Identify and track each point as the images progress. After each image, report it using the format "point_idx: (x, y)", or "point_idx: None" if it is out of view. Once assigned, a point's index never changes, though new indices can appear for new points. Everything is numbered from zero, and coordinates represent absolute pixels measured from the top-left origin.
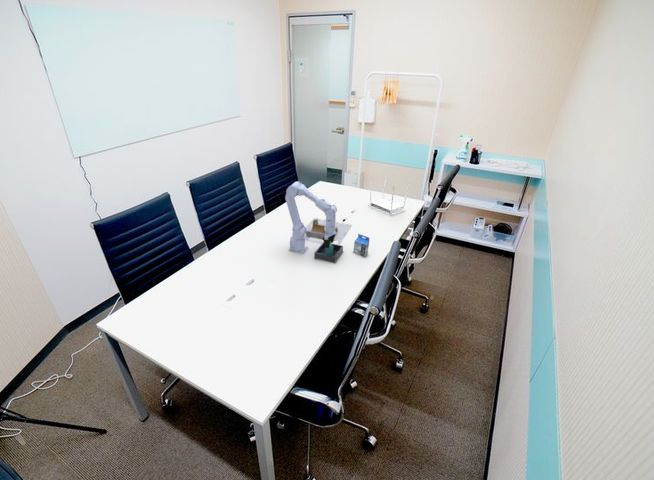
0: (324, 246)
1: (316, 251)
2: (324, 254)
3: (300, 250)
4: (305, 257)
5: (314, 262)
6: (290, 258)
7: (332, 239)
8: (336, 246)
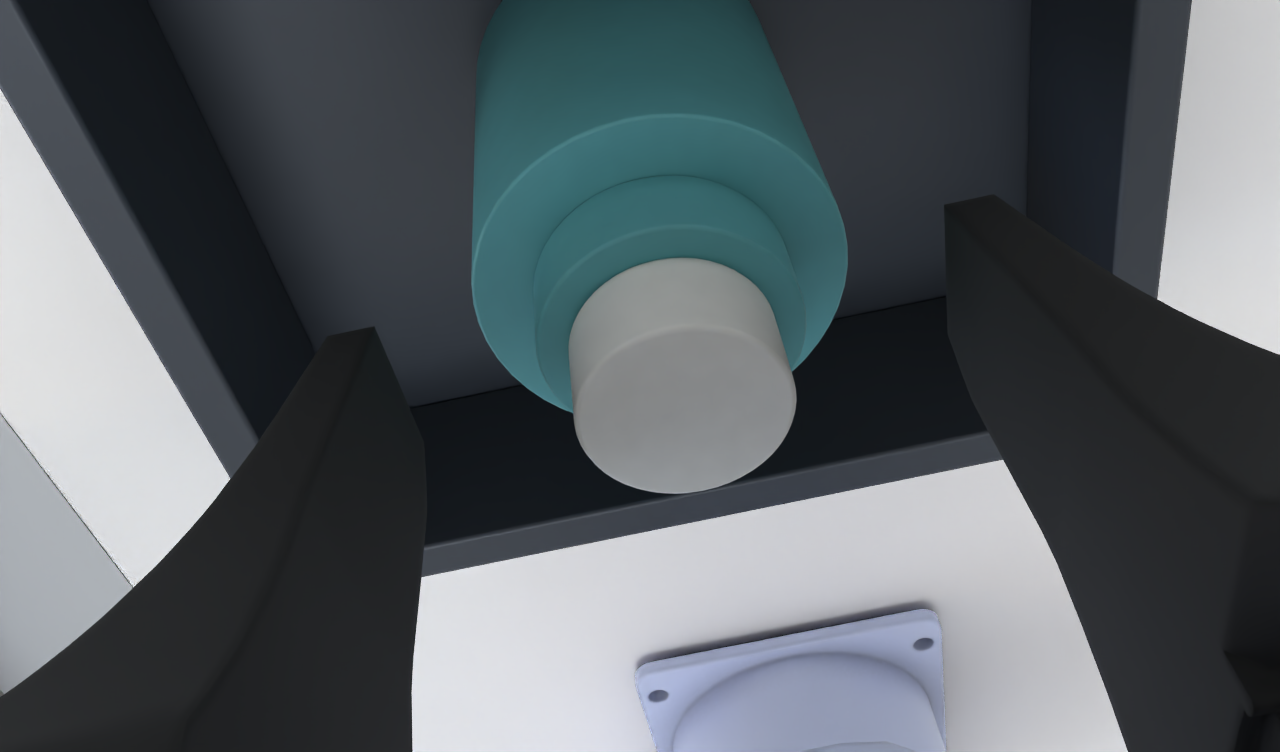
0: None
1: None
2: (1146, 123)
3: (914, 694)
4: None
5: (1269, 178)
6: None
7: (354, 482)
8: (118, 118)
